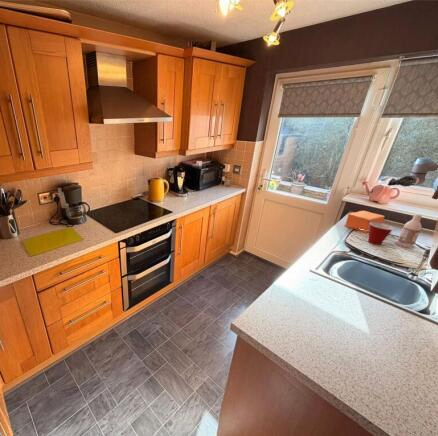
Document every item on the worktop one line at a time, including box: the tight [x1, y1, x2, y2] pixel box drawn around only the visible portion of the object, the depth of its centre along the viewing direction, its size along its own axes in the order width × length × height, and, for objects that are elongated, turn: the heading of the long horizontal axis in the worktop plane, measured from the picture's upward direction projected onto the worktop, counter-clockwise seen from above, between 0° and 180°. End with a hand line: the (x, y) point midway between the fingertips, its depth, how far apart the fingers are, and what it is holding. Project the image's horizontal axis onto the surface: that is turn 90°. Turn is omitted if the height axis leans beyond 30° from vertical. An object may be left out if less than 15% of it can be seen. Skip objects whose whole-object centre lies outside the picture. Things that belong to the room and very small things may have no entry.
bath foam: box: [396, 213, 423, 249], centre depth 136 cm, size 7×7×20 cm
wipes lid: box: [347, 210, 386, 221], centre depth 161 cm, size 17×13×1 cm
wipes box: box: [344, 215, 385, 233], centre depth 163 cm, size 17×13×9 cm
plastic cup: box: [368, 223, 394, 246], centre depth 140 cm, size 11×11×12 cm
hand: (389, 183), depth 158 cm, fingers closed
